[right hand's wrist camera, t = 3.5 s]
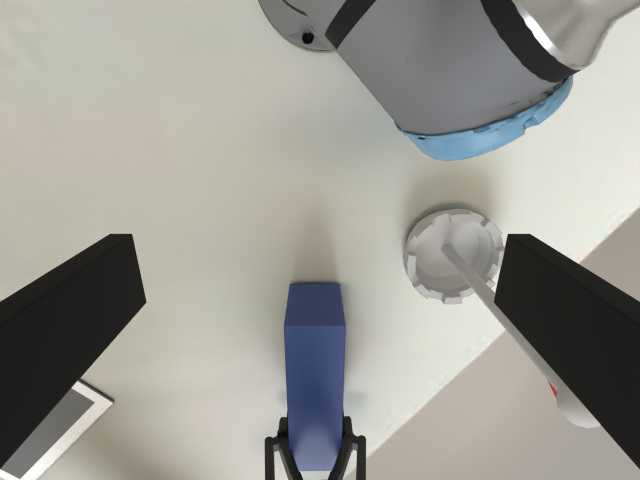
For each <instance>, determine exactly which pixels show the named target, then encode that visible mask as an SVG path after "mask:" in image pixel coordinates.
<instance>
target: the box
mask: <svg viewBox="0 0 640 480" xmlns="http://www.w3.org/2000/svg"><path fill="white" fill-rule="evenodd" d="M284 339H285V362H286V385H287V408H288V431H289V449H290V450H291V451H292V454H293V456H294V459H295V462H296V464H297V467H298V470H299V471H331V470H332V469H333V466H334V464H335V461H336V458H337V455H338V453H339V450H340V449H342V420H343V387H344V354H345V319H344V312H343V305H342V298H341V291H340V284H290V287H289V294H288V301H287V308H286V315H285V322H284Z"/></svg>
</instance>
